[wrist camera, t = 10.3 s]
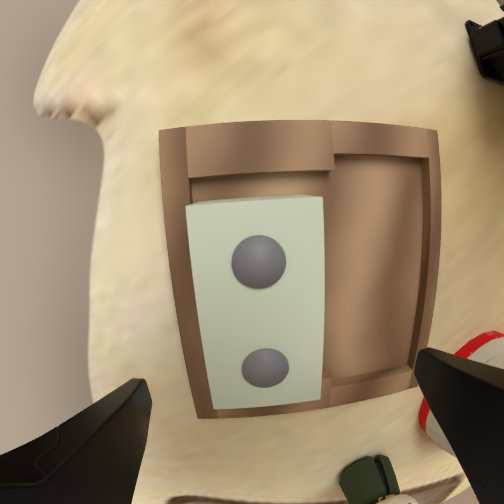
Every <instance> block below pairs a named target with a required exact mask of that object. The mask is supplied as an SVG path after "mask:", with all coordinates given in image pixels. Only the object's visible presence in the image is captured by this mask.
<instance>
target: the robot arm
mask: <svg viewBox="0 0 504 504" xmlns="http://www.w3.org/2000/svg"><path fill="white" fill-rule="evenodd" d="M499 7H500V8H501V10H502V11H504V4H502V5H501V6H499ZM466 25H467V28H468V31H469V34H470V37H471V40H472V43H473V47H474V50H475V53H476V57H477V61H478V64H479V68H480V72H481V74H482V76H483V77H484V78H486V79H489V80H491V81H494V82H496V83H498V84H501V85H503V86H504V17H502V18H500V19H498V20H494V21H492V22H490V23H488V24H486V25H484V26H481V25H479V24H477V23H475V22H473V21H471V20H468V21H466ZM414 375H415V378H416V380H417V382H418V384H419V386H420V389H421V391H422V393H423V395H424V397H425V400H426V402H427V404H428V406H429V408H430V410H431V412H432V414H433V416H434V417H435V419H436V421H437V422H438V424H439V426H440V428H441V430H442V431H443V433H444V435H445V437H446V439H447V440H448V442H449V444H450V446H451V448H452V450H453V451H454V453H455V455H456V457H457V459H458V461H459V463H460V465H461V467H462V469H463V471H464V472H465V474H466V476H467V478H468V480H469V482H470V484H471V486H472V488H473V491H474V493H475V495H476V497H477V499H478V501H479V503H480V504H504V369H501V368H498V367H494V366H491V365H487V364H484V363H480V362H477V361H473V360H470V359H466V358H463V357H460V356H456V355H453V354H450V353H446V352H443V351H440V350H437V349H433V348H425V349H421V350H419V352H418V354H417V359H416V363H415V368H414ZM151 407H152V399H151V396H150V393H149V389H148V386H147V383H146V381H145V380H144V379H139V378H133V379H131V380H129V381H128V382H126V383H125V384H123V385H122V386H120V387H118V388H117V389H115V390H114V391H112V392H111V393H109V394H108V395H106V396H105V397H103V398H102V399H100V400H98V401H97V402H95V403H94V404H92V405H91V406H89V407H87V408H86V409H84V410H83V411H81V412H80V413H78V414H76V415H75V416H73V417H72V418H70V419H68V420H67V421H65V422H64V423H62V424H60V425H59V427H55V428H54V429H52V430H50V431H49V432H47V433H45V434H43V435H42V436H40V437H38V438H36V439H35V440H32V441H30V442H28V443H26V444H24V445H22V446H20V447H18V448H16V449H13V450H11V451H9V452H6V453H4V454H2V455H0V504H131V503H132V498H133V494H134V490H135V486H136V482H137V478H138V474H139V470H140V466H141V462H142V458H143V454H144V451H145V447H146V442H147V436H148V428H149V421H150V414H151Z"/></svg>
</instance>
